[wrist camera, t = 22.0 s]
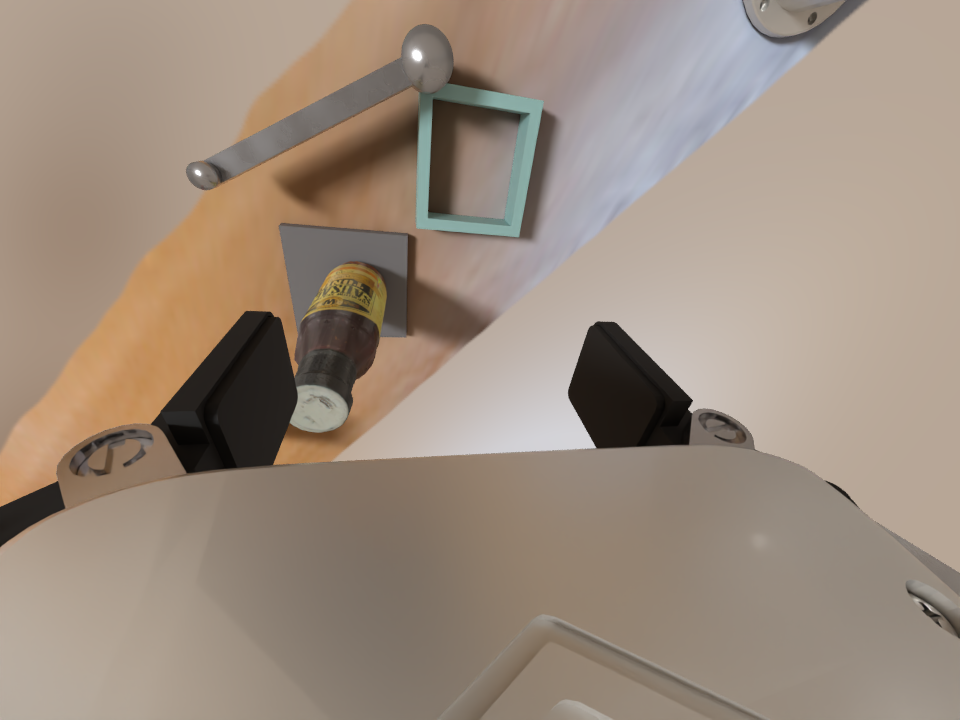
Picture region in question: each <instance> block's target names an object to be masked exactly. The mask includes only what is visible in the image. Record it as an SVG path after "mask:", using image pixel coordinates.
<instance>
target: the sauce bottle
mask: <svg viewBox="0 0 960 720" xmlns="http://www.w3.org/2000/svg"><path fill="white" fill-rule="evenodd" d="M386 299H387V292H386V283H385V281H384V278H383V277H382V276H381V274H380V273H379V272H378V271H377V270H376V269H375V268H374V267H372V266H370V265H368V264H365V263H362V262H358V261H355V262H353V261H349V262H346V263H344V264H342V265H339V266H338V267H336V268H335V269H333V270H332V271H331V272H330V273H329V274H328V276H327V277H326V279H325V281H324V283H323V284H322V286H321V288H320V290H319V291H318V293H317V295H316V297H315V298H314V300H313V302H312V304H311V306H310V307H309V309H308V311H307V312H306V314H305V316H304V318H303V319H302V321H301V323H300V326H299V332H298V338H297V344H296V350H295V359H294V360H295V361H296V362H297V364H298V365H299V366H298V371H297V373H296V375H295V378H294V379H295V383H296V388H297V392H298V401H297V405H296V408H295V410H294V413H293V415H292V418H291V420H290V423H291V424H292V425H293V426H295V427H297V428H299V429H301V430H305V431H308V432H326V431H331V430H334V429H336V428H338V427H340V426H341V425H342V424H343V423H344V422H345V421H346V420H347V418H348V415H349V412H350V410H351V407H352V404H353V397H352V394H351V391H352V387H353V384H354V383H355V380H356V379H359V378H360V377H361V376H363V375H364V374H365V373H366V372H367V371H368V369H369V368H370V367H371V366H372V364H373V361H374V358H375V354H376V349H377V347H378V344H379V340H380V333H381V328H382V322H383V316H384V311H385V305H386Z"/></svg>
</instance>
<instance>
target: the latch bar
mask: <svg viewBox="0 0 960 720" xmlns="http://www.w3.org/2000/svg"><path fill="white" fill-rule="evenodd" d="M452 71H453V53H452V49H451V46H450V43H449V41H448V39H447V38H446V36H445V35H444V34H443V33H442V32H441V31H440V30H439V29H438V28H436V27H434V26H432V25H427V24H422V25H418V26H416V27H414V28H413V29H411V30H410V31H409V33H408V34H407V35H406V37H405V39H404V42H403V45H402V54H401V58H399V59H397V60H395V61H393V62H391V63H389V64H387V65H386V66H384V67H382V68H380V69H378V70H376V71H374V72H372V73H370V74H368V75H366V76H365V77H363V78H361V79H359V80H357V81H355V82H353V83H351V84H349V85H347V86H345V87H344V88H342V89H340V90H338V91H336V92H334V93H332V94H330V95H328V96H326V97H324V98H323V99H321V100H319V101H317V102H315V103H313V104H311V105H309V106H307V107H305V108H303V109H302V110H300V111H298V112H296V113H294V114H292V115H290V116H288V117H286V118H284V119H282V120H281V121H279V122H277V123H275V124H273V125H271V126H269V127H267V128H265V129H263V130H261V131H259V132H258V133H256V134H254V135H252V136H250V137H248V138H246V139H244V140H242V141H240V142H238V143H237V144H235V145H233V146H231V147H229V148H227V149H225V150H223V151H221V152H219V153H217V154H216V155H214V156H212V157H210V158H208V159H206V160H204V161H198V162H193V163H190V164H189V165H188V166H187V169H186V173H187V177H188V179H189V180H190V182H191V183H192V184H193V185H194V186H196V187H197V188H200V189H202V190H210V189H213V188H216V187H218V186H219V185H221V184H224V183H226V182H228V181H230V180H232V179H234V178H236V177H238V176H240V175H242V174H244V173H246V172H247V171H249V170H251V169H253V168H255V167H257V166H259V165H261V164H263V163H265V162H267V161H269V160H271V159H273V158H275V157H277V156H278V155H280V154H282V153H284V152H286V151H288V150H290V149H292V148H294V147H296V146H298V145H300V144H302V143H304V142H306V141H308V140H309V139H311V138H313V137H315V136H317V135H319V134H321V133H323V132H325V131H327V130H329V129H331V128H333V127H335V126H337V125H339V124H341V123H342V122H344V121H346V120H348V119H350V118H352V117H354V116H356V115H358V114H360V113H362V112H364V111H366V110H368V109H370V108H372V107H373V106H375V105H377V104H379V103H381V102H383V101H385V100H387V99H389V98H391V97H393V96H395V95H397V94H399V93H401V92H403V91H404V90H406V89H408V88H410V87H413V88H414V89H415V90H416V91H418V92H420V93H423V94H433V93H436V92H438V91H439V90H440V89H442V88H443V87H444V86H445V85H446V84H447V82H448V81H449V79H450V77H451V74H452Z"/></svg>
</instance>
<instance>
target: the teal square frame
mask: <svg viewBox="0 0 960 720" xmlns="http://www.w3.org/2000/svg"><path fill="white" fill-rule="evenodd" d="M433 99H436V100H442V101H447V102H453V103H459V104H465V105H471V106H477V107H483V108H488V109H494V110H500V111H506V112H512V113H518V114H521V115H520V121H519V128H518V134H517V141H516V147H515V153H514V160H513V166H512V173H511V179H510V185H509V192H508V198H507V205H506V211H505V217H504V220H503V219H493V218H483V217H473V216H462V215H452V214H442V213H432V212H428V198H429V174H430V151H431V128H432V105H433ZM543 102H544V101H541V100H536V99H530V98H525V97H520V96H514V95H509V94H503V93H498V92H492V91H487V90H481V89H476V88H470V87H465V86H459V85H454V84H448V83H447V84H446V85H445V86H444V87H443V88H442V89H440V90H439V91H438V92H436V93H433V94H423V93H420V92H419V107H418V146H417V186H416V227H417V228H419V229H430V230H442V231H453V232H465V233H476V234H488V235H500V236H511V237H519V234H520V228H521V223H522V217H523V212H524V206H525V201H526V196H527V190H528V185H529V179H530V174H531V168H532V163H533V157H534V152H535V146H536V141H537V135H538V130H539V124H540V119H541V113H542V108H543Z"/></svg>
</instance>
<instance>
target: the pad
mask: <svg viewBox="0 0 960 720" xmlns="http://www.w3.org/2000/svg"><path fill="white" fill-rule="evenodd" d="M279 230H280V236H281V241H282V247H283V253H284V258H285V264H286V270H287V275H288V281H289V286H290V292H291V298H292V303H293V309H294V314H295V320H296V326H297V331H298V332H299V326H300V323H301V321H302V319H303V318H304V316H305V314H306V312H307V311H308V309H309V307H310V306H311V304H312V302H313V300H314V298H315V297H316V295H317V293H318V291H319V290H320V288H321V286H322V284H323V283H324V281H325V279H326V277H327V276H328V274H329V273H330V272H331V271H332V270H333V269H335V268H336V267H338V266H339V265H342V264H344V263H346V262H349V261H353V262H355V261H358V262H362V263H365V264H368V265H370V266H372V267H374V268H375V269H376V270H377V271H378V272H379V273H380V274H381V276H382V277H383V278H384V281H385V283H386V292H387V299H386V305H385V311H384V316H383V322H382V328H381V333H380V337H406V320H407V249H408V233H396V232H383V231H371V230H359V229H347V228H335V227H323V226H311V225H299V224H287V223H281V224H280V225H279Z"/></svg>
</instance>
